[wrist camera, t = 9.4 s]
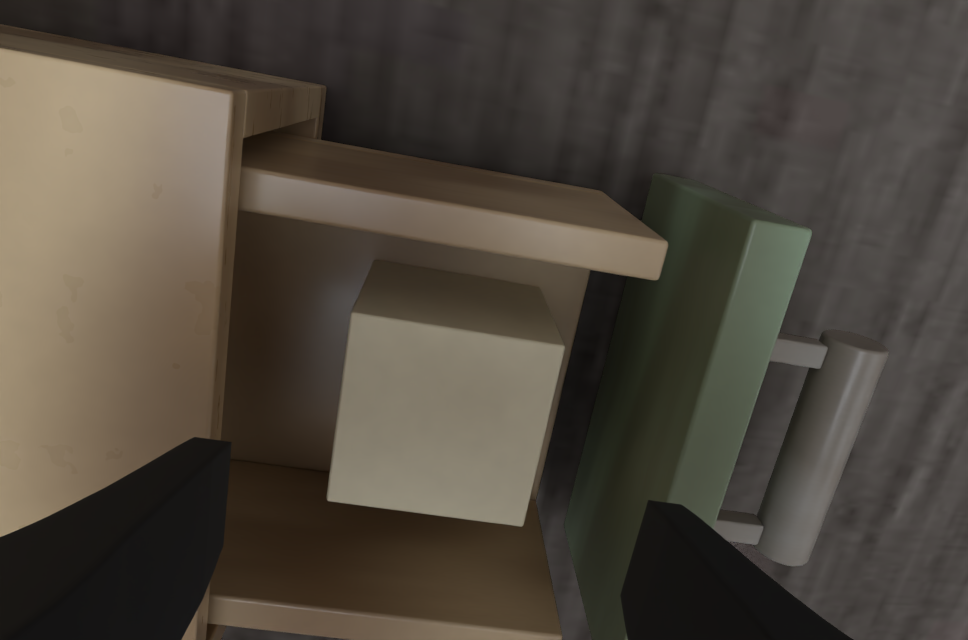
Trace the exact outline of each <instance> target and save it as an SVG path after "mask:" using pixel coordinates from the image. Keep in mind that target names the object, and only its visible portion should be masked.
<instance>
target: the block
mask: <svg viewBox="0 0 968 640" xmlns="http://www.w3.org/2000/svg"><path fill="white" fill-rule="evenodd" d="M564 351H565V346H564V343H563V341H562V339H561V336H560V334H559V331H558V329H557V327H556V324H555V322H554V319H553V317H552V315H551V312H550V310H549V307H548V305H547V303H546V300H545V298H544V296H543V293H542V291H541V288H540V287H537V286H531V285H525V284H519V283H513V282H507V281H501V280H495V279H489V278H483V277H477V276H471V275H465V274H458V273H452V272H446V271H440V270H434V269H428V268H422V267H416V266H410V265H404V264H398V263H392V262H386V261H380V260H374V261H373V263H372V265H371V268H370V270H369V272H368V275H367V277H366V279H365V281H364V284H363V286H362V288H361V291H360V293H359V295H358V297H357V300H356V302H355V304H354V307H353V309H352V311H351V313H350V319H349V327H348V335H347V342H346V350H345V358H344V365H343V373H342V381H341V388H340V396H339V404H338V411H337V419H336V427H335V434H334V442H333V450H332V458H331V465H330V473H329V481H328V488H327V496H326V498H327V501H331V502H339V503H346V504H354V505H361V506H369V507H376V508H384V509H391V510H399V511H407V512H414V513H422V514H429V515H437V516H444V517H452V518H459V519H467V520H474V521H482V522H490V523H497V524H505V525H512V526H520V527H521V526H523V525H524V521H525V517H526V513H527V509H528V504H529V500H530V496H531V491H532V487H533V483H534V479H535V474H536V470H537V466H538V462H539V457H540V453H541V449H542V445H543V440H544V436H545V432H546V427H547V423H548V419H549V415H550V410H551V406H552V402H553V398H554V393H555V389H556V385H557V381H558V376H559V372H560V368H561V363H562V359H563V355H564Z"/></svg>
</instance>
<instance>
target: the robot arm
mask: <svg viewBox="0 0 968 640" xmlns="http://www.w3.org/2000/svg"><path fill="white" fill-rule="evenodd" d="M231 445H232V442H228V441H221V440H214V439H206V438H199V437H193V438H191V439H189V440H187V441H185V442H184V443H182V444H180V445H178V446H176V447H175V448H173V449H171V450H170V451H168V452H166V453H164V454H163V455H161V456H159V457H158V458H156V459H154V460H153V461H151V462H149V463H147V464H146V465H144V466H142V467H140V468H139V469H137V470H135V471H133V472H132V473H130V474H128V475H126V476H125V477H123V478H121V479H119V480H118V481H116V482H114V483H112V484H110V485H109V486H107V487H105V488H103V489H101V490H99V491H97V492H95V493H93V494H91V495H89V496H87V497H85V498H83V499H81V500H79V501H77V502H75V503H73V504H72V505H70V506H68V507H66V508H64V509H62V510H60V511H58V512H56V513H54V514H52V515H50V516H48V517H45V518H43V519H41V520H39V521H37V522H35V523H32V524H30V525H28V526H25V527H23V528H21V529H19V530H16V531H14V532H11V533H9V534H7V535H4V536H2V537H0V640H182V638H183V636H184V634H185V632H186V630H187V628H188V626H189V625H190V623H191V621H192V619H193V617H194V615H195V613H196V611H197V610H198V608H199V606H200V604H201V602H202V600H203V598H204V595H205V593H206V590H207V588H208V585H209V582H210V580H211V577H212V575H213V572H214V569H215V567H216V564H217V561H218V559H219V556H220V553H221V551H222V548H223V544H224V532H225V519H226V507H227V495H228V482H229V470H230V457H231ZM620 597H621V603H622V610H623V616H624V622H625V628H626V633H627V638H628V640H853V639H851V638H850V637H848V636H847V635H845V634H844V633H843V632H841V631H840V630H838V629H837V628H835V627H834V626H833V625H831V624H830V623H828V622H827V621H826V620H824V619H823V618H822V617H820V616H819V615H818V614H816V613H815V612H814V611H812V610H811V609H810V608H808V607H807V606H806V605H805V604H803V603H802V602H801V601H799V600H798V599H797V598H795V597H794V596H793V595H791V594H790V593H789V592H788V591H786V590H785V589H784V588H783V587H781V586H780V585H779V584H778V583H776V582H775V581H774V580H773V579H772V578H770V577H769V576H768V575H767V574H766V573H764V572H763V571H762V570H761V569H760V568H758V567H757V566H756V565H755V564H754V563H752V562H751V561H750V560H749V559H748V558H746V557H745V556H744V555H743V554H742V553H741V552H739V551H738V550H737V549H736V548H735V547H734V546H732V545H731V544H730V543H729V542H728V541H727V540H725V539H724V538H723V537H722V536H721V535H720V534H718V533H717V532H716V531H715V530H714V529H713V528H711V527H710V526H709V525H708V524H706V523H705V522H704V521H703V520H702V519H700V518H699V517H698V516H697V515H695V514H694V513H693V512H691V511H690V510H689V509H687V508H686V507H684V506H683V505H681V504H674V503H667V502H660V501H653V500H648V502H647V506H646V509H645V513H644V516H643V519H642V523H641V526H640V530H639V533H638V536H637V540H636V543H635V547H634V550H633V553H632V557H631V560H630V564H629V567H628V570H627V574H626V577H625V581H624V584H623V587H622V591H621V594H620Z"/></svg>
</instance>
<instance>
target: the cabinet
mask: <svg viewBox="0 0 968 640" xmlns="http://www.w3.org/2000/svg"><path fill="white" fill-rule="evenodd" d="M325 98H326V86H324V85H320V84H314V83H309V82H304V81H298V80H293V79H288V78H283V77H277V76H272V75H267V74H261V73H256V72H251V71H246V70H240V69H235V68H230V67H224V66H219V65H214V64H208V63H203V62H198V61H193V60H187V59H182V58H177V57H171V56H166V55H161V54H156V53H150V52H145V51H140V50H134V49H129V48H124V47H118V46H113V45H108V44H103V43H97V42H92V41H87V40H81V39H76V38H71V37H66V36H60V35H55V34H50V33H44V32H39V31H34V30H28V29H23V28H18V27H13V26H7V25H2V24H0V537H2V536H4V535H7V534H9V533H11V532H14V531H16V530H19V529H21V528H23V527H25V526H28V525H30V524H32V523H35V522H37V521H39V520H41V519H43V518H45V517H48V516H50V515H52V514H54V513H56V512H58V511H60V510H62V509H64V508H66V507H68V506H70V505H72V504H73V503H75V502H77V501H79V500H81V499H83V498H85V497H87V496H89V495H91V494H93V493H95V492H97V491H99V490H101V489H103V488H105V487H107V486H109V485H110V484H112V483H114V482H116V481H118V480H119V479H121V478H123V477H125V476H126V475H128V474H130V473H132V472H133V471H135V470H137V469H139V468H140V467H142V466H144V465H146V464H147V463H149V462H151V461H153V460H154V459H156V458H158V457H159V456H161V455H163V454H164V453H166V452H168V451H170V450H171V449H173V448H175V447H176V446H178V445H180V444H182V443H184V442H185V441H187V440H189V439H191V438H193V437H199V438H206V439H214V440H221V428H222V415H223V401H224V388H225V374H226V361H227V347H228V334H229V320H230V307H231V293H232V280H233V266H234V253H235V239H236V226H237V212H238V199H239V185H240V171H241V158H242V144H243V138H246V137H249V136H253V135H257V134H260V133H264V132H267V131H274V132H280V133H285V134H291V135H296V136H302V137H307V138H313V139H318V140H321V135H322V126H323V117H324V107H325ZM209 591H210V582H209V585H208V588H207V590H206V593H205V595H204V598H203V600H202V602H201V604H200V606H199V608H198V610H197V611H196V613H195V615H194V617H193V619H192V621H191V623H190V625H189V626H188V628H187V630H186V632H185V634H184V636H183V638H182V640H221V638H222V635H223V633H224V631H225V628H226V626H225V625H217V624H208V623H207V618H208V604H209Z"/></svg>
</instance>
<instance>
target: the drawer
mask: <svg viewBox="0 0 968 640" xmlns="http://www.w3.org/2000/svg"><path fill="white" fill-rule="evenodd" d="M811 235H812V231H811V230H810V229H809V228H807V227H804V226H802V225H799V224H797V223H795V222H792V221H790V220H788V219H785V218H783V217H780V216H778V215H776V214H773V213H771V212H769V211H766V210H764V209H761V208H759V207H757V206H754V205H752V204H750V203H747V202H745V201H742V200H740V199H738V198H735V197H733V196H730V195H728V194H726V193H723V192H721V191H719V190H716V189H714V188H711V187H709V186H707V185H704V184H702V183H700V182H697V181H695V180H692V179H686V178H681V177H675V176H670V175H665V174H659V173H655V174H654V175H653V178H652V181H651V185H650V189H649V193H648V197H647V201H646V205H645V209H644V213H643V217H642V221H640V220H638V219H637V218H636V217H634V216H633V215H632V214H630V213H629V212H628V211H627V210H625V209H624V208H623V207H621V206H620V205H619V204H617V203H616V202H615V201H613V200H612V199H611V198H609V197H608V196H607V195H606V194H605V193H603V192H602V191H599V190H594V189H588V188H583V187H577V186H572V185H566V184H561V183H555V182H550V181H544V180H539V179H533V178H528V177H522V176H517V175H511V174H506V173H500V172H495V171H489V170H484V169H478V168H473V167H467V166H462V165H456V164H451V163H445V162H440V161H434V160H429V159H423V158H418V157H412V156H407V155H401V154H396V153H390V152H385V151H379V150H373V149H368V148H362V147H357V146H351V145H346V144H340V143H335V142H329V141H324V140H318V139H313V138H307V137H302V136H296V135H291V134H285V133H280V132H274V131H267V132H264V133H260V134H257V135H253V136H249V137H246V138H243V144H242V158H241V171H240V185H239V199H238V212H237V226H236V239H235V253H234V266H233V280H232V293H231V307H230V320H229V334H228V347H227V361H226V374H225V388H224V401H223V415H222V428H221V441H228V442H232V445H231V457H230V470H229V482H228V495H227V507H226V519H225V532H224V544H223V548H222V551H221V553H220V556H219V559H218V561H217V564H216V567H215V569H214V572H213V575H212V577H211V580H210V591H209V604H208V618H207V623H208V624H217V625H225V626H234V627H243V628H252V629H260V630H269V631H278V632H287V633H296V634H304V635H313V636H322V637H331V638H339V639H348V640H562V638H563V637H562V632H561V627H560V622H559V617H558V612H557V607H556V601H555V596H554V591H553V586H552V581H551V576H550V571H549V566H548V561H547V556H546V550H545V545H544V540H543V535H542V530H541V525H540V520H539V515H538V510H537V505H536V498H537V494H538V490H539V486H540V481H541V477H542V473H543V469H544V464H545V460H546V456H547V452H548V448H549V443H550V439H551V435H552V431H553V427H554V422H555V418H556V414H557V410H558V406H559V401H560V397H561V393H562V389H563V385H564V380H565V376H566V372H567V368H568V363H569V359H570V355H571V351H572V347H573V342H574V338H575V334H576V330H577V326H578V321H579V317H580V313H581V309H582V305H583V300H584V296H585V292H586V288H587V284H588V279H589V275H590V271H591V270H594V271H600V272H606V273H612V274H617V275H623V276H627V279H626V283H625V287H624V291H623V295H622V299H621V303H620V307H619V311H618V315H617V319H616V323H615V326H614V330H613V334H612V338H611V342H610V346H609V350H608V354H607V358H606V362H605V366H604V370H603V374H602V377H601V381H600V385H599V389H598V393H597V397H596V401H595V405H594V409H593V413H592V417H591V421H590V424H589V428H588V432H587V436H586V440H585V444H584V448H583V452H582V456H581V460H580V464H579V468H578V472H577V475H576V479H575V483H574V487H573V491H572V495H571V499H570V503H569V507H568V511H567V515H566V519H565V522H564V528H565V532H566V536H567V540H568V544H569V548H570V552H571V556H572V561H573V565H574V569H575V573H576V577H577V581H578V585H579V589H580V593H581V597H582V601H583V605H584V609H585V613H586V617H587V621H588V625H589V629H590V633H591V637H592V640H628V638H627V633H626V628H625V622H624V616H623V610H622V603H621V597H620V594H621V591H622V587H623V584H624V581H625V577H626V574H627V570H628V567H629V564H630V560H631V557H632V553H633V550H634V547H635V543H636V540H637V536H638V533H639V530H640V526H641V523H642V519H643V516H644V513H645V509H646V506H647V502H648V500H653V501H660V502H667V503H674V504H681V505H683V506H684V507H686V508H687V509H689V510H690V511H691V512H693V513H694V514H695V515H697V516H698V517H699V518H700V519H702V520H703V521H704V522H705V523H706V524H708V525H709V526H710V527H711V528H713V529H714V530H715V531H716V532H717V533H718V534H720V535H721V536H722V537H723V538H724V539H725V540H727V541H730V542H738V543H745V544H753V546H754V547H755V548H756V549H757V550H758V551H759V552H760V553H761V554H763V555H764V556H765V557H767V558H769V559H771V560H773V561H775V562H777V563H780V564H783V565H787V566H802V565H804V564H805V563H807V562H808V560H809V558H810V555H811V553H812V550H813V547H814V545H815V542H816V540H817V537H818V535H819V532H820V529H821V527H822V524H823V522H824V519H825V517H826V514H827V511H828V509H829V506H830V504H831V501H832V499H833V496H834V494H835V491H836V488H837V486H838V483H839V481H840V478H841V476H842V473H843V470H844V468H845V465H846V463H847V460H848V458H849V455H850V452H851V450H852V447H853V445H854V442H855V440H856V437H857V434H858V432H859V429H860V427H861V424H862V422H863V419H864V416H865V414H866V411H867V409H868V406H869V404H870V401H871V398H872V396H873V393H874V391H875V388H876V386H877V383H878V380H879V378H880V375H881V373H882V370H883V368H884V365H885V362H886V360H887V357H888V355H889V350H888V349H887V348H886V347H885V346H883V345H882V344H880V343H878V342H876V341H874V340H872V339H869V338H867V337H864V336H861V335H858V334H854V333H850V332H846V331H841V330H825V331H823V332H822V334H821V336H820V339H819V341H818V340H817V339H813V338H807V337H801V336H795V335H789V334H783V333H779V331H780V328H781V325H782V322H783V319H784V316H785V313H786V310H787V307H788V304H789V301H790V298H791V295H792V292H793V289H794V286H795V283H796V280H797V277H798V274H799V271H800V268H801V265H802V262H803V259H804V256H805V253H806V250H807V247H808V244H809V241H810V238H811ZM374 260H380V261H386V262H392V263H398V264H404V265H410V266H416V267H422V268H428V269H434V270H440V271H446V272H452V273H458V274H465V275H471V276H477V277H483V278H489V279H495V280H501V281H507V282H513V283H519V284H525V285H531V286H537V287H540V288H541V291H542V293H543V296H544V298H545V300H546V303H547V305H548V307H549V310H550V312H551V315H552V317H553V319H554V322H555V324H556V327H557V329H558V331H559V334H560V336H561V339H562V341H563V343H564V346H565V351H564V355H563V359H562V363H561V368H560V372H559V376H558V381H557V385H556V389H555V393H554V398H553V402H552V406H551V410H550V415H549V419H548V423H547V427H546V432H545V436H544V440H543V445H542V449H541V453H540V457H539V462H538V466H537V470H536V474H535V479H534V483H533V487H532V491H531V496H530V500H529V504H528V509H527V513H526V517H525V521H524V525H523V526H521V527H520V526H512V525H505V524H497V523H490V522H482V521H474V520H467V519H459V518H452V517H444V516H437V515H429V514H422V513H414V512H407V511H399V510H391V509H384V508H376V507H369V506H361V505H354V504H346V503H339V502H331V501H327V498H326V496H327V488H328V481H329V473H330V465H331V458H332V450H333V442H334V434H335V427H336V419H337V411H338V404H339V396H340V388H341V381H342V373H343V365H344V358H345V350H346V342H347V335H348V327H349V319H350V313H351V311H352V309H353V307H354V304H355V302H356V300H357V297H358V295H359V293H360V291H361V288H362V286H363V284H364V281H365V279H366V277H367V275H368V272H369V270H370V268H371V265H372V263H373V261H374ZM769 361H771V362H778V363H784V364H790V365H796V366H802V367H809V370H808V373H807V376H806V379H805V382H804V384H803V387H802V390H801V393H800V396H799V399H798V401H797V404H796V407H795V410H794V413H793V416H792V418H791V421H790V424H789V427H788V430H787V432H786V435H785V438H784V441H783V444H782V447H781V449H780V452H779V455H778V458H777V461H776V464H775V466H774V469H773V472H772V475H771V478H770V481H769V483H768V486H767V489H766V492H765V495H764V498H763V500H762V503H761V506H760V509H759V512H758V514H757V516H756V515H754V514H749V513H742V512H735V511H728V510H721V509H720V508H721V505H722V502H723V499H724V496H725V493H726V490H727V487H728V484H729V481H730V478H731V475H732V472H733V469H734V466H735V463H736V460H737V457H738V454H739V451H740V448H741V445H742V442H743V439H744V436H745V433H746V430H747V427H748V424H749V421H750V418H751V415H752V412H753V409H754V406H755V403H756V400H757V397H758V394H759V391H760V388H761V385H762V382H763V379H764V376H765V373H766V370H767V367H768V364H769Z"/></svg>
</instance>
